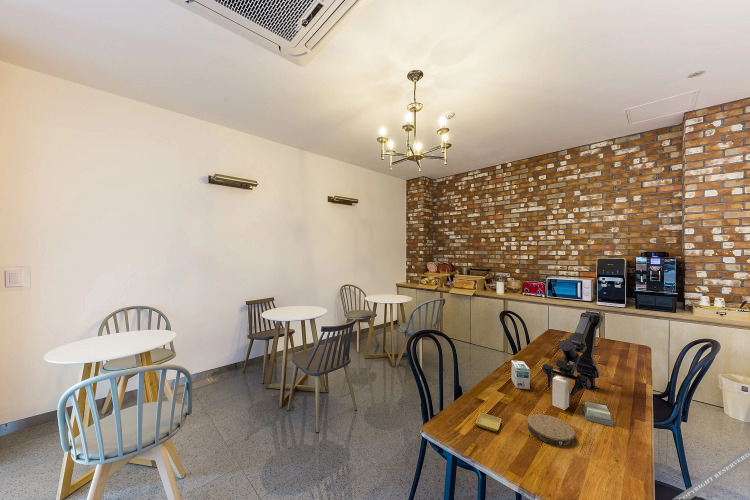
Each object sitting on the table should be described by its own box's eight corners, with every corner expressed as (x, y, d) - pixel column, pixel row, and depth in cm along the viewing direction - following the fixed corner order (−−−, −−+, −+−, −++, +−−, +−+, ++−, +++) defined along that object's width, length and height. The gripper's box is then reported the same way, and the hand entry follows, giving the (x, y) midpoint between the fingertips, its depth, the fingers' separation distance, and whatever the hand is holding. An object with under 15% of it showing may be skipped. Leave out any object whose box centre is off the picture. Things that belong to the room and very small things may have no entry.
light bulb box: (530, 389, 148) (530, 368, 148) (516, 388, 149) (516, 367, 149) (523, 380, 158) (524, 361, 158) (510, 379, 159) (511, 359, 159)
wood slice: (520, 420, 121) (520, 413, 121) (558, 421, 121) (558, 414, 121) (540, 446, 105) (540, 438, 105) (585, 448, 105) (585, 439, 105)
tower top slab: (584, 406, 129) (584, 401, 129) (606, 411, 125) (606, 405, 125) (587, 415, 122) (588, 409, 122) (610, 420, 118) (610, 414, 118)
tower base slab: (583, 411, 130) (583, 405, 130) (608, 417, 125) (608, 411, 125) (586, 421, 122) (586, 415, 122) (613, 428, 117) (613, 422, 117)
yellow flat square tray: (498, 435, 112) (498, 429, 112) (475, 427, 117) (475, 422, 117) (501, 423, 119) (501, 418, 119) (480, 416, 124) (480, 412, 124)
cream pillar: (556, 401, 136) (557, 375, 136) (568, 406, 132) (569, 379, 132) (552, 405, 133) (552, 378, 133) (564, 410, 129) (564, 382, 129)
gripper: (543, 347, 143) (532, 375, 136) (588, 359, 127) (578, 391, 121) (550, 359, 147) (540, 387, 141) (594, 372, 132) (585, 404, 126)
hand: (559, 391), depth 132 cm, fingers open, 9 cm apart
